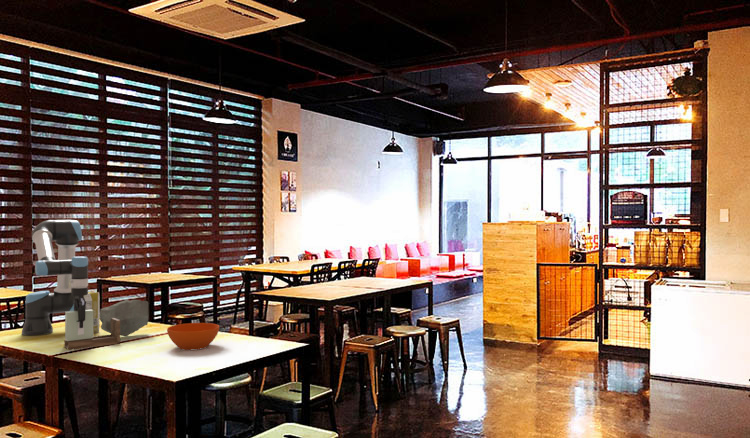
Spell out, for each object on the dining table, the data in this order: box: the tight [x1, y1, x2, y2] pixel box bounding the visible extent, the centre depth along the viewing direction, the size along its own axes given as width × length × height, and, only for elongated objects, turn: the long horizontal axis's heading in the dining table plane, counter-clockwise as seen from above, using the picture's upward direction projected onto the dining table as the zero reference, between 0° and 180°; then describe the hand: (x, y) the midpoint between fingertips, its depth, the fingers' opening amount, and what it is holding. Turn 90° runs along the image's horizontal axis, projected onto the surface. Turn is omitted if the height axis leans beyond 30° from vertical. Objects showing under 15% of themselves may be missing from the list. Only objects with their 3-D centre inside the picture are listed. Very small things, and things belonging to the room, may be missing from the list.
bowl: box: [166, 322, 220, 351], centre depth 293 cm, size 25×25×10 cm
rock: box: [99, 299, 150, 337], centre depth 319 cm, size 27×6×20 cm, turn 137°
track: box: [63, 318, 121, 351], centre depth 297 cm, size 10×24×12 cm, turn 131°
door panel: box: [64, 310, 94, 341], centre depth 293 cm, size 4×12×14 cm, turn 131°
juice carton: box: [84, 289, 101, 334], centre depth 330 cm, size 9×8×24 cm
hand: (79, 333), depth 293 cm, fingers closed on door panel, 4 cm apart
